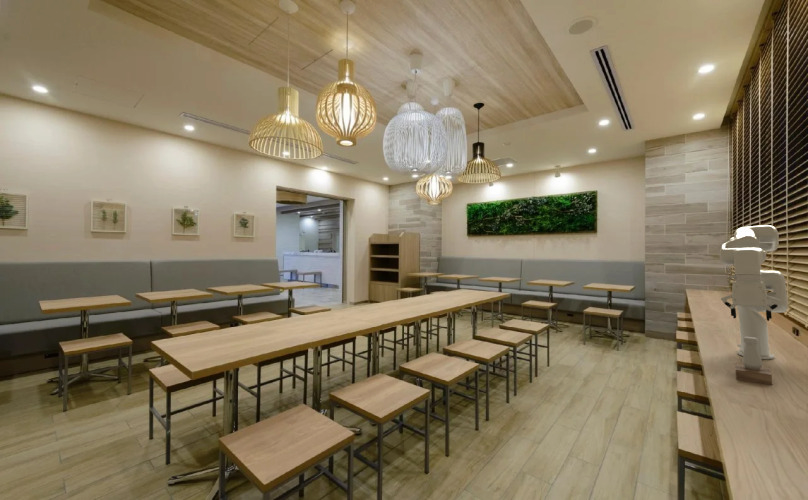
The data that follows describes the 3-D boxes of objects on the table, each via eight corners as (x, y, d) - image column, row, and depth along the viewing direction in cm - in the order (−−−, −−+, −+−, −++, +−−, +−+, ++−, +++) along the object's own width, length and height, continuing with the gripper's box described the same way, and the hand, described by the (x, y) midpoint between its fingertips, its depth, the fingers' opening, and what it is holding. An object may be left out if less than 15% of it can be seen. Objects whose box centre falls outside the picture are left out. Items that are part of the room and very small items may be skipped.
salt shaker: (767, 371, 135) (764, 339, 135) (751, 371, 136) (748, 339, 136) (754, 366, 140) (752, 335, 141) (739, 366, 141) (736, 335, 142)
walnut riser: (736, 372, 145) (735, 363, 145) (770, 377, 138) (769, 367, 138) (736, 379, 138) (735, 369, 138) (772, 385, 131) (771, 374, 131)
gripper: (718, 278, 143) (721, 318, 143) (779, 279, 130) (782, 323, 130) (720, 277, 148) (723, 315, 148) (778, 277, 135) (782, 319, 135)
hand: (751, 319), depth 139 cm, fingers open, 9 cm apart
